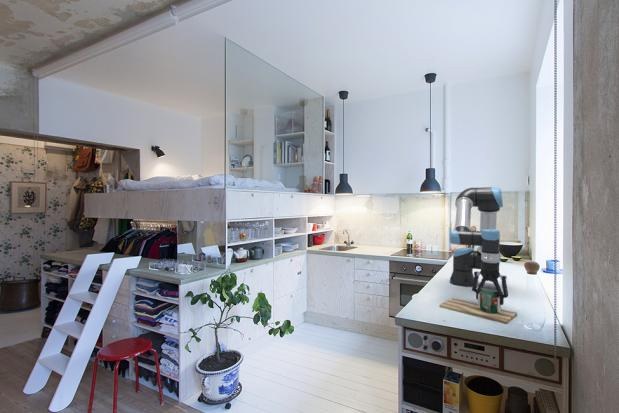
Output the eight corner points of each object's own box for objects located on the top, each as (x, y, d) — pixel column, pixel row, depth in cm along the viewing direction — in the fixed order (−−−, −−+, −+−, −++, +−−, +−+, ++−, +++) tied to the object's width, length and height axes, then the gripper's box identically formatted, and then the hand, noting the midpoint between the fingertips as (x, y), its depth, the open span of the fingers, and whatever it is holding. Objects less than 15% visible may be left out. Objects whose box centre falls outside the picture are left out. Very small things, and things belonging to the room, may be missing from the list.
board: (452, 300, 172) (452, 298, 172) (516, 315, 150) (517, 312, 150) (439, 306, 161) (439, 304, 161) (506, 323, 139) (506, 321, 139)
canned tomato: (500, 315, 147) (500, 291, 146) (481, 312, 149) (481, 289, 149) (496, 309, 154) (497, 287, 154) (478, 307, 157) (479, 285, 157)
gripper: (464, 259, 156) (463, 305, 157) (512, 265, 141) (511, 316, 142) (470, 257, 161) (469, 302, 162) (517, 263, 146) (516, 312, 147)
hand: (489, 308), depth 152 cm, fingers closed on canned tomato, 8 cm apart
